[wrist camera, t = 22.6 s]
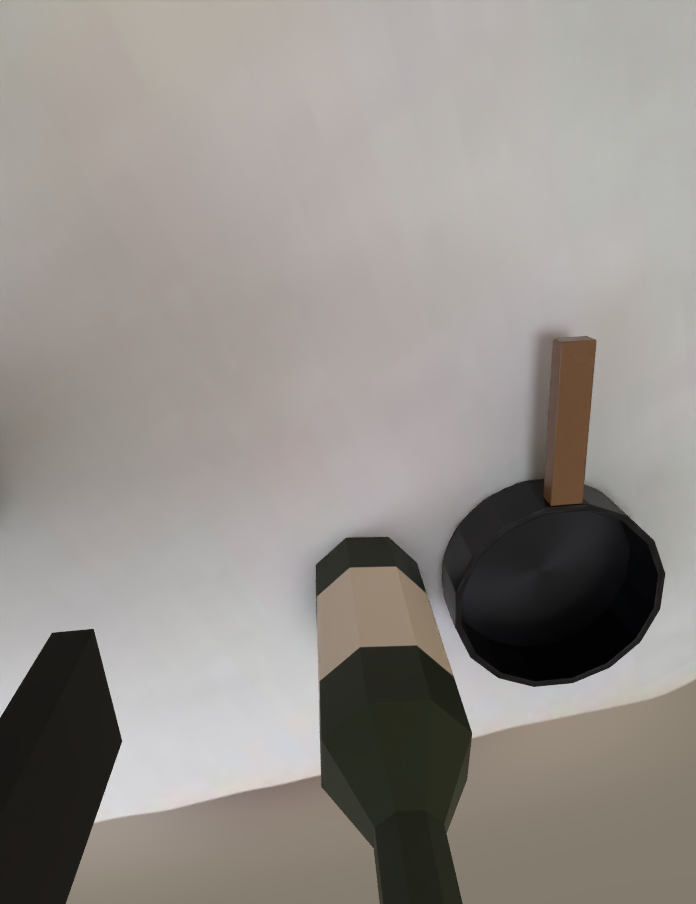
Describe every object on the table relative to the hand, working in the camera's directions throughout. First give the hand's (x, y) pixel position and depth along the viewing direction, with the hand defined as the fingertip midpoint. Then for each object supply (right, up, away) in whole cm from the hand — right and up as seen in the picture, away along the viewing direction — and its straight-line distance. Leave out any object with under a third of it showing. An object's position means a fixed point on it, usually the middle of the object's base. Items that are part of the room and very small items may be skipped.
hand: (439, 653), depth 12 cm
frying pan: (+13, 0, +34) cm, 36 cm away
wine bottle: (0, -6, +35) cm, 36 cm away
